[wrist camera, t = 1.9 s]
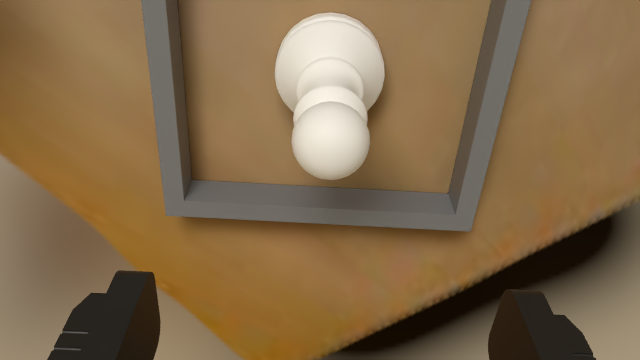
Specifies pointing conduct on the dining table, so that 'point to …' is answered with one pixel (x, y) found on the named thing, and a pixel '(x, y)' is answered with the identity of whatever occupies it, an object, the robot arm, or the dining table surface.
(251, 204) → the grey square frame
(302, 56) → the chess pawn
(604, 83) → the dining table surface
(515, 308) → the robot arm
